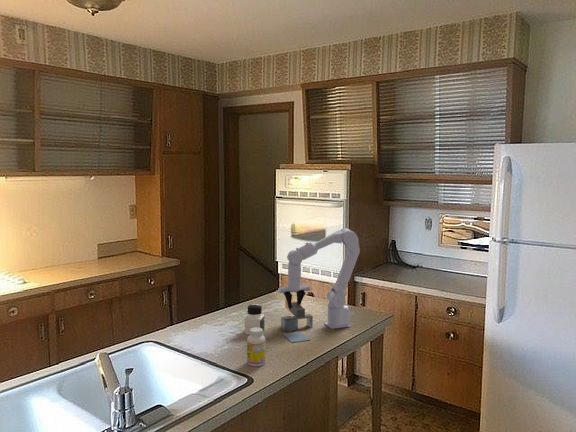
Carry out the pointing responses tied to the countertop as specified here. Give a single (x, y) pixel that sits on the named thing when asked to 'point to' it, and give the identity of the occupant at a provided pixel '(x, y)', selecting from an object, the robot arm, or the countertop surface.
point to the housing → (294, 322)
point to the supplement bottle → (256, 347)
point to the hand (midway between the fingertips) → (294, 307)
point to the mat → (296, 337)
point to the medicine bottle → (254, 318)
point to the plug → (296, 309)
